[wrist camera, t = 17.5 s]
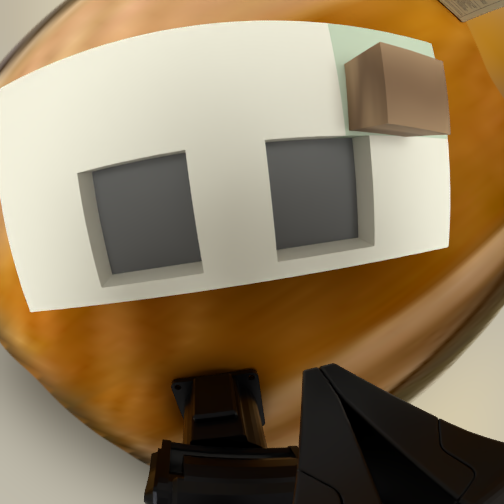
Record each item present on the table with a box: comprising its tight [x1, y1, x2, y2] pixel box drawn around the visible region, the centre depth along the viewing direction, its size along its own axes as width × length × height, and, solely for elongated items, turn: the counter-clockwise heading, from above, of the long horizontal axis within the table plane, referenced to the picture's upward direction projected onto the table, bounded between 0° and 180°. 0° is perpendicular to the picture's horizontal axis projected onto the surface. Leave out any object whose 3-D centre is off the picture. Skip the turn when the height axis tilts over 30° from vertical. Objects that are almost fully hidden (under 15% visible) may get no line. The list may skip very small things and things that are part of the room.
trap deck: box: [0, 21, 450, 312], centre depth 16 cm, size 14×28×2 cm, turn 97°
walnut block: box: [344, 42, 450, 137], centre depth 13 cm, size 4×4×4 cm
